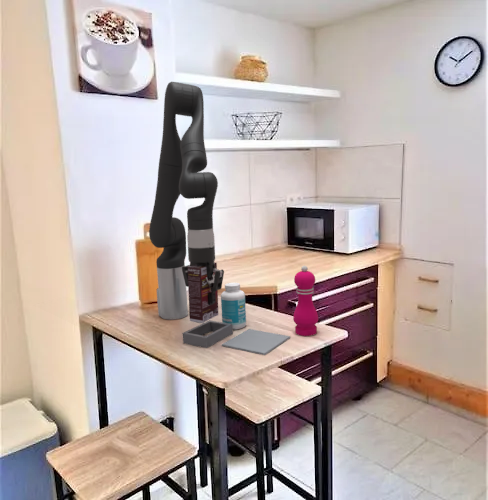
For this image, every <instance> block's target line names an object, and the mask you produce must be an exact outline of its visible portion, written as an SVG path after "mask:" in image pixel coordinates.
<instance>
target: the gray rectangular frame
mask: <svg viewBox="0 0 488 500" xmlns="http://www.w3.org/2000/svg"><path fill="white" fill-rule="evenodd" d="M233 331H234V329H232V324H228V323H222V321H216V320H211V319H209V320H207V321H206V322H204V323H200V324H199V325H196V326H194V327H193V328H191V329H188V330H186V331H184V332H182V343H183V344H185V343H186V344H185V345H189V346H194V347H199V348H204V349H208V348H210V347H211V346H214V345H215V344H217V343H219V342H221V341H222V340H224V339H227V338H228V337H230V336H232V335H233V334H234V333H233ZM208 333H209V334H208Z"/></svg>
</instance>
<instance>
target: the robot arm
mask: <svg viewBox="0 0 488 500" xmlns="http://www.w3.org/2000/svg"><path fill="white" fill-rule="evenodd" d="M163 104H164V105H163V121H162V122H163V123H162V124H163V126H162V129H163V130H162V139H161V146H160V151H159V152H160V153H159V154H160V155H159V160H158V161H159V162H158V169H157V182H156V189H155V196H154V197H155V199H154V204H153V210H152V213H151V219H150V223H149V228H148V229H149V230H148V234H149V239H150V242H151V244H152V245H153V246H154V247H155V248H157V249H158V248H159V249H163V250H162V251H161V254H160V255H159V256H158V257H157V258H156V260H155V261H156V262H155V263H156V275H157V286H158V288H157V289H156V300H157V303H156V304H157V312H158V314H157V315H158V317H160V318H161V319H164V320H180V319H182V318H186V317H188V316H189V305H188V295H187V294H188V292H187V288H188V267H189V266H192V265H201V266H206V269H207V277H206V285H207V289H208V305H213V304H214V303H215V302H216V293H215V292H216V291H217V290H218V291H219V290H222V287H223V281H224V274H225V270H224V269H218V268H217V269H216V268H215V265H214V262H215V261H216V249H215V248H216V245H215V244H216V243H215V232H214V223H213V222H214V221H213V220H214V219H213V217H214V215H213V214H214V213H213V211H214V205H215V204H214V203H215V198H216V197H217V196H216V195H217V191H218V187H219V185H218V184H219V182H218V178H217V176H216V175H215V174H214V173H213V172H210V171H205V172H204V170H205V169H206V168H207V165H208V157H207V151H206V146H205V145H206V144H205V135H204V134H205V131H204V129H205V128H204V127H205V124H204V123H205V119H204V118H205V117H204V115H205V114H204V111H205V109H204V105H205V104H204V95H203V91H202V89H201V87H199V86H197V85H195V84H188V83H183V82H177V81H170V82H168V84H167V86H166V89H165V92H164V102H163ZM176 115H177V116H182V117H183V116H185V117H191V123H190V125H189V127H188V128H187V129H186V131H185V132H184V134H183V135H182V137H181V138H180V135H179V132H178V127H177V122H176V120H177V118H176V117H177V116H176ZM202 171H203V172H202ZM180 195H181V196H182V197H183V198H185V199H188V200H189V199H190V200H191V199H204V200H203V202H202V203H201V204H200V205H197V206H193V207H190V208H188V210H187V211H186V214H187V215H186V219H187V221H186V223H187V232H186V227H185V225H184V223H183V221H182V220H181V219H180V218H178V217H175V216H174V217H173V215H174V210H175V205H176V203H177V201H178V199H179V197H180ZM186 234H187V235H186ZM187 254H188V255H187ZM186 257H187V258H188V262H190V263H189V264H187V265H185V264H186V263H185V260H186ZM213 274H214V275H213ZM211 277H212V280H211V281H208V279H210V278H211ZM214 277H215V278H214ZM207 278H208V279H207ZM210 284H211V285H210ZM211 287H212V288H211Z"/></svg>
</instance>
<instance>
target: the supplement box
mask: <svg viewBox="0 0 488 500" xmlns="http://www.w3.org/2000/svg"><path fill="white" fill-rule="evenodd" d="M217 263H218V262H215V261H214V265H215V268H216V269H218V264H217ZM213 275H214V274H213ZM206 277H207V269H206V266H201V265H192V266H189V267H188V287H187V289H188V316H189V322H193V323H199V324H203V323H205V322H207V321H209V320H211V319H213V318H215V317H218V316H219V290H217V291H216V292H215V293H216V302H215V303H214V304H213V305H208V289H207V285H206ZM214 278H215V277H214ZM207 279H208V278H207ZM211 280H212V277H211V278H210V279H208V281H211ZM210 285H211V284H210ZM211 288H212V287H211Z"/></svg>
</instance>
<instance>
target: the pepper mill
mask: <svg viewBox="0 0 488 500" xmlns="http://www.w3.org/2000/svg"><path fill="white" fill-rule="evenodd" d="M293 281H294V284H295V285H296V287H295V289H296V294H297V296H298V297H297V300H298V301H297V304H296V307H295V309H294V312H293V317H292V318H293V319H292V321H293V322H294V324H296V325H295V326H294V328H295V329H294V332H295V334H296V335H298V336H302V337H311V335H312V336H314V335H316V334H317V333H318V327H317V325H316V324H317V323H318V322H319V315H318V311H317V309H316V307H315V306H314V302H313V294H314V292H315V291H314V287H313V286H314V285H315V284H316V276H315V275H314V273H313V272H312V271H310V270H308V266H307V265H302V266H301V271H298V272H297V273H296V274H295V275H294V280H293Z"/></svg>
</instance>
